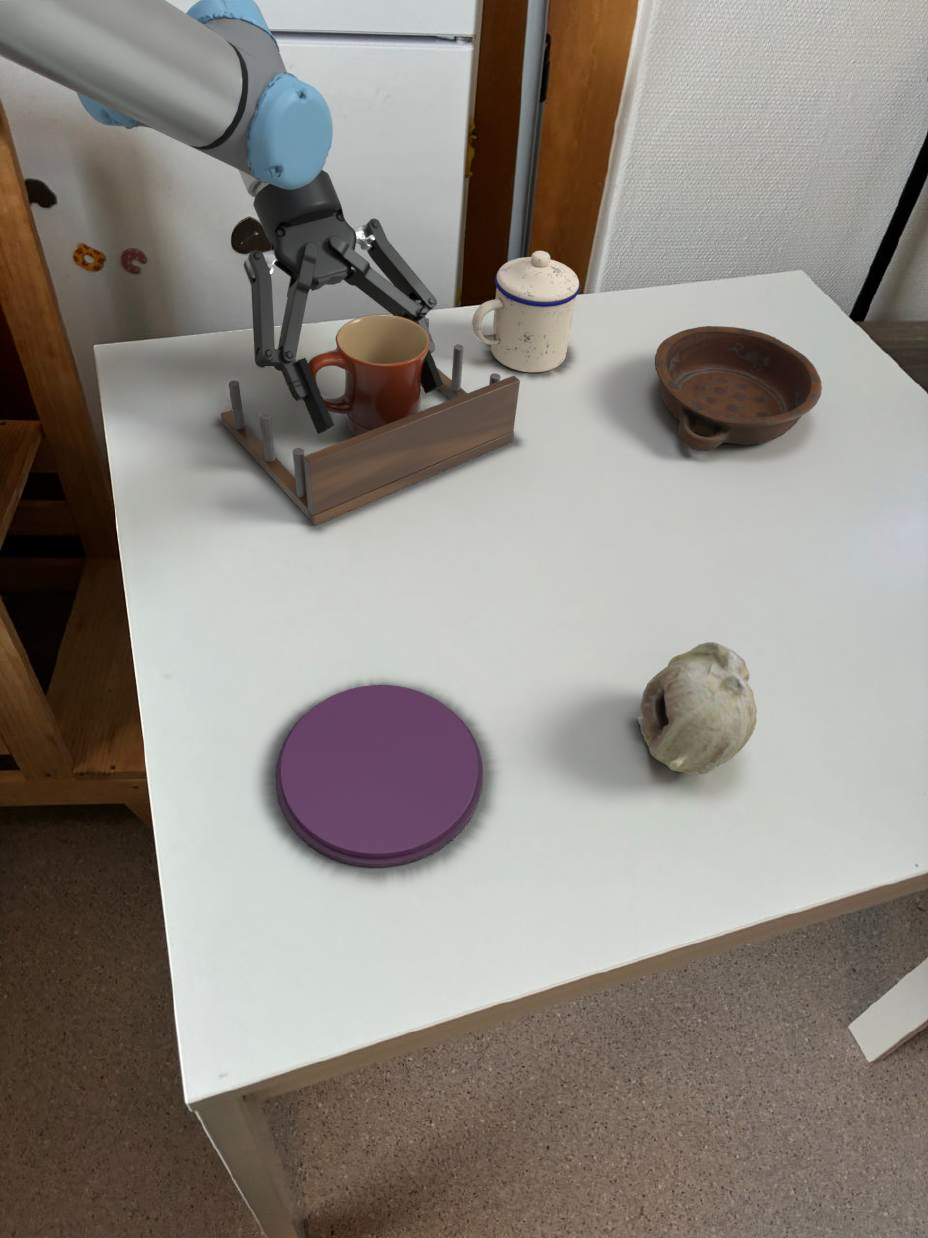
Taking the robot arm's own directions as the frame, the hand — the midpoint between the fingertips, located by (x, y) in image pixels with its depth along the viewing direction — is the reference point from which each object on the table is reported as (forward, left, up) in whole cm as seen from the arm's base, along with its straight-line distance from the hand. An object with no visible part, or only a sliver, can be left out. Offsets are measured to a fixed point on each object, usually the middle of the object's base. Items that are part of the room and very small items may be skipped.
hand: (381, 409), depth 87 cm
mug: (-3, 0, -5) cm, 5 cm away
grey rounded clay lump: (+42, -1, -5) cm, 43 cm away
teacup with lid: (-6, +22, -5) cm, 23 cm away
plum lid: (+31, -21, -4) cm, 38 cm away
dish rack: (-3, 0, -4) cm, 5 cm away
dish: (+14, +35, -5) cm, 38 cm away
